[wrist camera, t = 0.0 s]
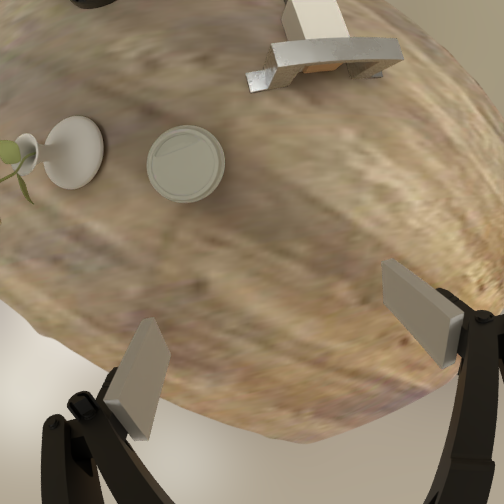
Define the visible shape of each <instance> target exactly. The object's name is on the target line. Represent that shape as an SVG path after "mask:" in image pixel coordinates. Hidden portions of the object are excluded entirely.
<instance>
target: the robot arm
mask: <svg viewBox="0 0 504 504" xmlns="http://www.w3.org/2000/svg"><path fill="white" fill-rule="evenodd" d="M70 1H71V2H73V3H74V4H75V5H76V6H78V7H81V8H96V7H101V6H104V5H107V4H109V3H111V2H113V1H115V0H70ZM381 265H382V281H383V303H384V304H385V305H386V307H387V308H388V309H389V310H390V311H391V312H392V313H393V314H394V315H395V316H396V317H397V319H398V320H399V321H400V322H401V323H402V324H403V325H404V326H405V327H406V329H407V330H408V331H409V332H410V333H411V334H412V335H413V336H414V338H415V339H416V340H417V341H418V342H419V343H420V344H421V346H422V347H423V348H424V349H425V350H426V351H427V352H428V354H429V355H430V356H431V357H432V358H433V360H434V361H435V362H436V363H437V364H438V365H439V367H440V368H441V369H444V368H446V367H448V366H450V365H452V364H454V363H455V360H456V356H457V353H458V354H459V355H460V356H461V357H462V359H461V363H460V367H459V371H458V375H459V379H458V385H457V391H456V397H455V403H454V408H453V412H452V417H451V421H450V426H449V430H448V434H447V438H446V442H445V446H444V449H443V453H442V456H441V459H440V463H439V466H438V469H437V472H436V475H435V478H434V481H433V483H432V486H431V489H430V491H429V493H428V495H427V497H426V499H425V501H424V503H423V504H487V500H488V497H489V493H490V489H491V484H492V480H493V476H494V470H495V462H494V461H492V459H491V458H492V451H493V445H494V438H495V429H496V420H497V408H498V386H499V368H500V372H501V375H502V379H503V382H504V314H503V315H498V316H494V315H493V314H492V313H491V312H489V311H486V310H477V311H474V310H473V309H472V308H470V307H469V306H468V305H467V304H465V303H464V302H463V301H461V300H459V298H457V297H456V296H454V295H453V294H452V293H451V292H449V291H448V290H445V289H442V288H437V289H434V288H433V287H431V286H430V285H429V284H427V283H426V282H425V281H423V280H422V279H421V278H419V277H418V276H417V275H415V274H414V273H413V272H411V271H410V270H408V269H407V268H406V267H404V266H403V265H402V264H400V263H399V262H397V261H396V260H395V259H393V258H391V259H388V260H385V261H381ZM170 358H171V353H170V351H169V349H168V347H167V345H166V343H165V341H164V338H163V336H162V334H161V332H160V329H159V327H158V325H157V323H156V320H155V318H154V317H152V318H147V319H142V321H141V323H140V325H139V327H138V329H137V331H136V333H135V335H134V337H133V339H132V341H131V343H130V345H129V347H128V349H127V351H126V353H125V355H124V357H123V359H122V361H121V363H120V365H119V367H114V368H113V369H112V370H111V372H110V373H109V374H108V375H107V377H106V379H105V382H104V383H103V385H102V388H101V390H100V391H99V393H98V396H97V398H96V400H95V399H94V398H93V396H92V395H91V394H90V392H87V391H81V392H78V393H76V394H75V395H73V396H72V397H71V398H70V399H69V401H68V403H67V408H68V409H69V410H70V412H71V413H72V414H73V416H74V417H75V418H76V419H73V420H69V421H66V419H65V418H64V417H63V416H62V415H60V414H55V415H52V416H50V417H49V418H48V419H47V420H46V421H45V423H44V425H43V432H42V449H41V450H42V451H41V496H42V504H104V500H103V496H102V491H101V486H100V481H99V476H98V471H97V466H98V468H99V470H100V472H101V474H102V476H103V478H104V480H105V482H106V484H107V486H108V487H109V489H110V491H111V493H112V495H113V496H114V498H115V500H116V501H117V503H118V504H175V503H174V502H173V501H172V500H171V499H170V497H169V496H168V495H167V494H166V493H165V491H164V490H163V489H162V488H161V486H160V485H159V484H158V483H157V481H156V480H155V479H154V478H153V476H152V475H151V474H150V472H149V471H148V470H147V468H146V467H145V465H144V464H143V463H142V461H141V460H140V458H139V457H138V456H137V454H136V453H135V451H134V450H133V448H132V447H131V445H130V444H129V443H128V441H127V440H126V437H127V434H129V435H130V436H131V437H132V439H133V440H134V441H148V440H149V437H150V433H151V429H152V424H153V421H154V417H155V413H156V409H157V405H158V401H159V398H160V394H161V390H162V386H163V383H164V379H165V375H166V372H167V368H168V365H169V361H170ZM96 464H97V465H96Z"/></svg>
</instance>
